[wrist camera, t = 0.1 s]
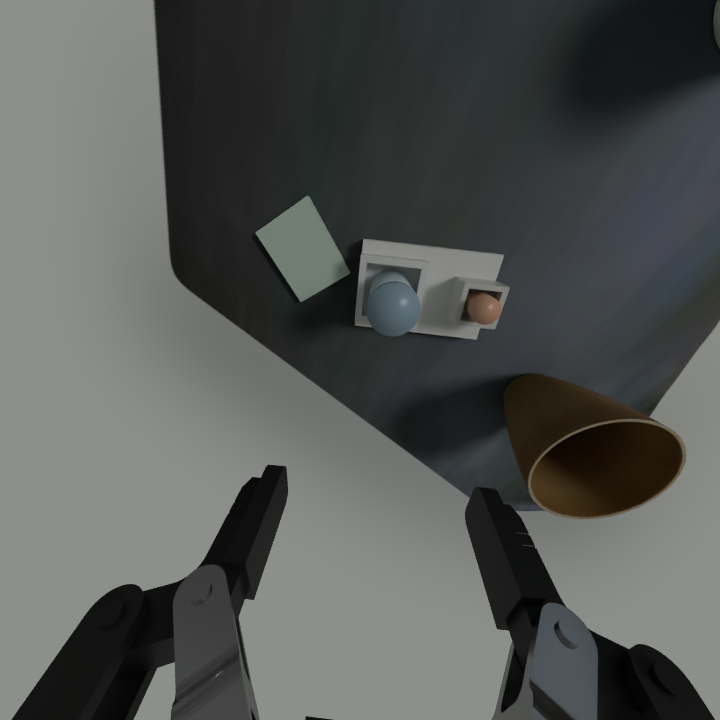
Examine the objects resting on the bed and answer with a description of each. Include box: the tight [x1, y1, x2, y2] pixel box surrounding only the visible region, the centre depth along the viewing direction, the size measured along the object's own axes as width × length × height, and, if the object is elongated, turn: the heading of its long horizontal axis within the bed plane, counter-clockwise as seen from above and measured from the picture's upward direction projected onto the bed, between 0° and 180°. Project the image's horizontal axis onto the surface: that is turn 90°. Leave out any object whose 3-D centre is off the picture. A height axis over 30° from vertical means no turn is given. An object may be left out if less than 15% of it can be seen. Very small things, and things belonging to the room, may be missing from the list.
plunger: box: [464, 291, 502, 325], centre depth 30 cm, size 3×3×4 cm
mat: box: [256, 196, 351, 302], centre depth 34 cm, size 10×8×1 cm
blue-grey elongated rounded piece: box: [366, 269, 421, 336], centre depth 29 cm, size 5×5×10 cm
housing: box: [355, 239, 510, 339], centre depth 33 cm, size 11×17×6 cm, turn 84°
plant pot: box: [503, 374, 686, 519], centre depth 35 cm, size 15×15×16 cm
